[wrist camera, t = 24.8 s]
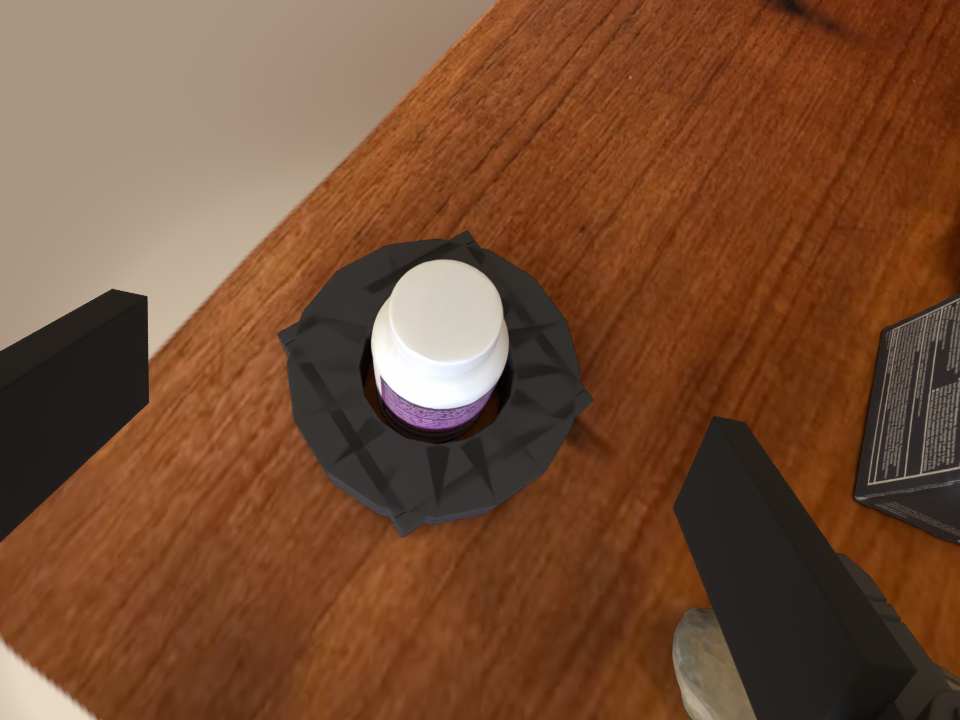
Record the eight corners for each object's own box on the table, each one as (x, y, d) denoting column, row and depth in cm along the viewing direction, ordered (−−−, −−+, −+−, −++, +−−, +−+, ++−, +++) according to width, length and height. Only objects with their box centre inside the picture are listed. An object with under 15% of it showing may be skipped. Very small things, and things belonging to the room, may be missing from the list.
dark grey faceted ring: (251, 352, 30) (233, 324, 26) (466, 234, 33) (474, 197, 30) (392, 580, 27) (392, 580, 24) (608, 426, 31) (634, 408, 27)
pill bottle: (505, 414, 30) (553, 346, 21) (406, 464, 29) (412, 413, 20) (454, 322, 31) (479, 220, 22) (357, 364, 30) (342, 274, 21)
